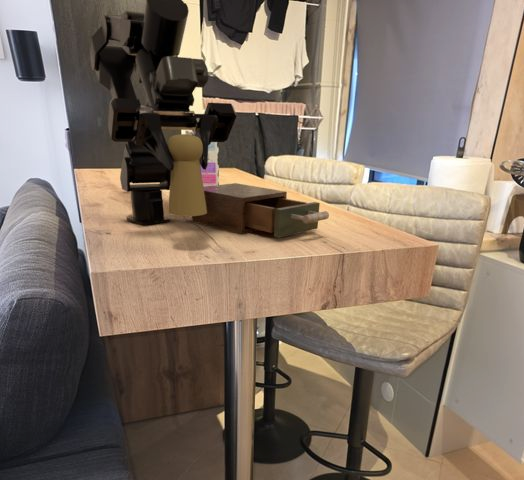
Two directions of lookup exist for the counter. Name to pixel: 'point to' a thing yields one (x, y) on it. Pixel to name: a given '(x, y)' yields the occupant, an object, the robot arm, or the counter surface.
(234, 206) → the cabinet
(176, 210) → the cork
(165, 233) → the counter surface
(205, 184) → the candy box
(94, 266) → the counter surface
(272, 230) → the drawer
